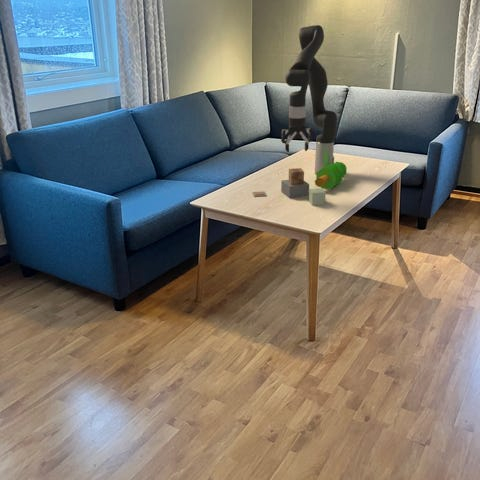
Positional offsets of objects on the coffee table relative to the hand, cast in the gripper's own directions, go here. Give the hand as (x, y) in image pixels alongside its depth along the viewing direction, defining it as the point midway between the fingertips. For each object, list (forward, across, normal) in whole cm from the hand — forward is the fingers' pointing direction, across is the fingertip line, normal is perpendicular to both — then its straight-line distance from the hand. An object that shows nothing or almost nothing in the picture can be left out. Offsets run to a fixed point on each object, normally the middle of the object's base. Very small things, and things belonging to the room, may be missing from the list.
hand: (296, 151), depth 244 cm
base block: (+21, 0, 0) cm, 21 cm away
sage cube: (+21, -6, +14) cm, 26 cm away
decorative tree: (+21, -22, -11) cm, 32 cm away
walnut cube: (+15, 0, 0) cm, 15 cm away
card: (+21, +17, -2) cm, 27 cm away
